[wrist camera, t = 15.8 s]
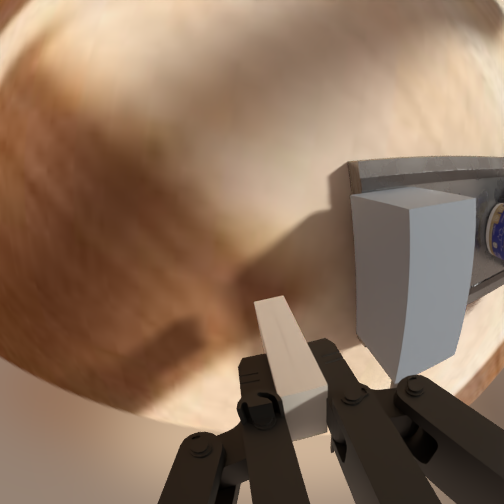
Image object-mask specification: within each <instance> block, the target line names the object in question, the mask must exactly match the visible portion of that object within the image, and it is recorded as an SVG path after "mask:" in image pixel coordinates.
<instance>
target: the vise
mask: <svg viewBox="0 0 504 504" xmlns="http://www.w3.org/2000/svg"><path fill="white" fill-rule="evenodd" d="M348 168H349V175H350V183H351V191H352V195H353V194H360V193H367V192H374V191H382V190H389V189H397V188H405V187H417V188H424V189H430V190H436V191H442V192H447V193H453V194H458V195H463V196H468V197H473V198H476V230H475V247H474V258H473V267H472V275H471V282H470V289H469V295H468V300H467V304H469V303H471V302H473V301H475V300H477V299H479V298H481V297H483V296H484V295H486V294H488V293H490V292H492V291H493V290H495V289H497V288H498V287H500V286H502V285H504V260H502V259H500V258H498V257H496V256H494V255H492V254H491V253H490V252H489V250H488V248H487V244H486V227H487V222H488V219H489V216H490V213H491V211H492V210H493V208H494V207H495V206H496V205H497V204H499V203H504V157H488V156H422V157H400V158H384V159H371V160H359V161H349V162H348ZM358 339H359V340H360V341H361V343H362V344H363V345H364V347H366V345H365V344H364V343H363V341H362V340H361V339H360V337H359V336H358Z"/></svg>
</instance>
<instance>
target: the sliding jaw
mask: <svg viewBox="0 0 504 504" xmlns="http://www.w3.org/2000/svg"><path fill="white" fill-rule="evenodd" d="M350 200H351V210H352V221H353V233H354V247H355V267H356V334H357V335H358V336H359V337H360V339H361V340H362V341H363V343H364V344H365V345H366V347H367V348H368V349H369V350H370V352H371V353H372V354H373V356H374V357H375V358H376V360H377V361H378V362H379V364H380V365H381V366H382V368H383V369H384V370H385V372H386V373H387V374H388V376H389V377H390V378H391V380H392V381H391V386H390V389H391V388H397V385H398V383H399V382H400V381H401V379H403V378H405V377H407V376H410V375H416V374H419V373H421V372H423V371H425V370H427V369H429V368H431V367H433V366H434V365H436V364H438V363H440V362H442V361H444V360H446V359H448V358H449V357H451V356H453V355H454V354H455V351H456V348H457V344H458V340H459V337H460V333H461V329H462V324H463V320H464V315H465V311H466V306H467V300H468V295H469V289H470V282H471V275H472V267H473V258H474V247H475V230H476V198H473V197H468V196H463V195H458V194H453V193H447V192H442V191H436V190H430V189H424V188H417V187H405V188H397V189H389V190H382V191H374V192H367V193H360V194H353V195H350Z"/></svg>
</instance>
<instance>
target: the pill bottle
mask: <svg viewBox="0 0 504 504" xmlns="http://www.w3.org/2000/svg"><path fill="white" fill-rule="evenodd" d="M486 244H487V248H488V250H489V252H490V253H491V254H492V255H494V256H496V257H498V258H500V259H502V260H504V203H499V204H497V205H496V206H495V207H494V208H493V210H492V211H491V213H490V216H489V219H488V222H487V227H486Z"/></svg>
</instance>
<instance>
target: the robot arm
mask: <svg viewBox="0 0 504 504" xmlns="http://www.w3.org/2000/svg"><path fill="white" fill-rule="evenodd" d="M254 305H255V310H256V315H257V320H258V325H259V330H260V335H261V340H262V345H263V349H264V353H265V354H261V355H256V356H251V357H246V358H242V360H241V362H240V364H239V366H238V370H239V380H240V389H241V399H240V400H239V402H238V404H237V412H238V415H239V417H240V420H241V421H240V422H239V424H238V425H237V426H236V427H234V428H233V429H231V430H229V431H227V432H225V433H222V434H220V435H217V436H216V435H214V434H213V433H208V432H198V433H194V434H192V435H190V436H188V437H187V438H185V439H184V441H183V442H182V444H181V445H180V448H179V450H178V453H177V455H176V458H175V460H174V463H173V465H172V468H171V471H170V473H169V476H168V478H167V481H166V483H165V486H164V489H163V491H162V494H161V496H160V499H159V501H158V504H237V500H238V495H239V489H240V484H241V483H242V482H244V481H247V480H249V482H250V489H251V495H252V502H253V504H310V502H309V498H308V495H307V492H306V488H305V485H304V481H303V478H302V474H301V471H300V467H299V464H298V460H297V457H296V453H295V450H294V446H293V443H292V441H297V440H301V439H305V438H308V437H312V436H316V435H319V434H323V433H326V432H327V425H328V428H329V430H330V433H331V453H333V452H334V451H335V453H336V456H337V458H338V461H339V463H340V466H341V468H342V471H343V473H344V476H345V478H346V481H347V483H348V486H349V488H350V491H351V493H352V496H353V498H354V501H355V503H356V504H441V502H440V500H439V499H438V497H437V495H436V493H435V492H434V490H433V488H432V487H431V485H430V483H429V482H428V480H427V478H428V479H429V480H430V481H431V482H432V483H434V484H435V485H436V486H437V487H438V488H439V489H440V490H441V491H443V492H444V493H445V494H446V495H447V496H448V497H450V498H451V499H452V500H453V501H454V502H455V503H456V504H504V430H503V429H502V428H500V427H498V426H497V425H496V424H494V423H493V422H491V421H490V420H488V419H487V418H485V417H484V416H482V415H481V414H479V413H478V412H477V411H475V410H474V409H472V408H471V407H469V406H468V405H466V404H465V403H463V402H462V401H460V400H459V399H457V398H456V397H455V396H453V395H452V394H450V393H449V392H447V391H446V390H444V389H443V388H441V387H440V386H438V385H437V384H435V383H434V382H433V381H431V380H430V379H428V378H426V377H424V376H422V375H410V376H407V377H405V378H403V379H401V381H400V382H399V383H398V385H397V388H391V389H384V390H373V389H370V388H369V387H368V386H366V385H364V384H361V383H359V382H358V380H357V379H356V377H355V376H354V374H353V372H352V371H351V369H350V368H349V366H348V364H347V363H346V361H345V360H344V359H343V357H342V355H341V353H339V350H338V349H337V347H336V346H335V344H334V343H333V342H331V341H329V340H328V339H326V338H324V339H320V340H316V341H313V342H309V343H307V342H306V340H305V338H304V336H303V334H302V332H301V330H300V328H299V326H298V324H297V322H296V320H295V318H294V316H293V314H292V312H291V310H290V308H289V306H288V304H287V302H286V300H285V298H284V296H278V297H274V298H269V299H265V300H260V301H255V302H254ZM426 477H427V478H426Z"/></svg>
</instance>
